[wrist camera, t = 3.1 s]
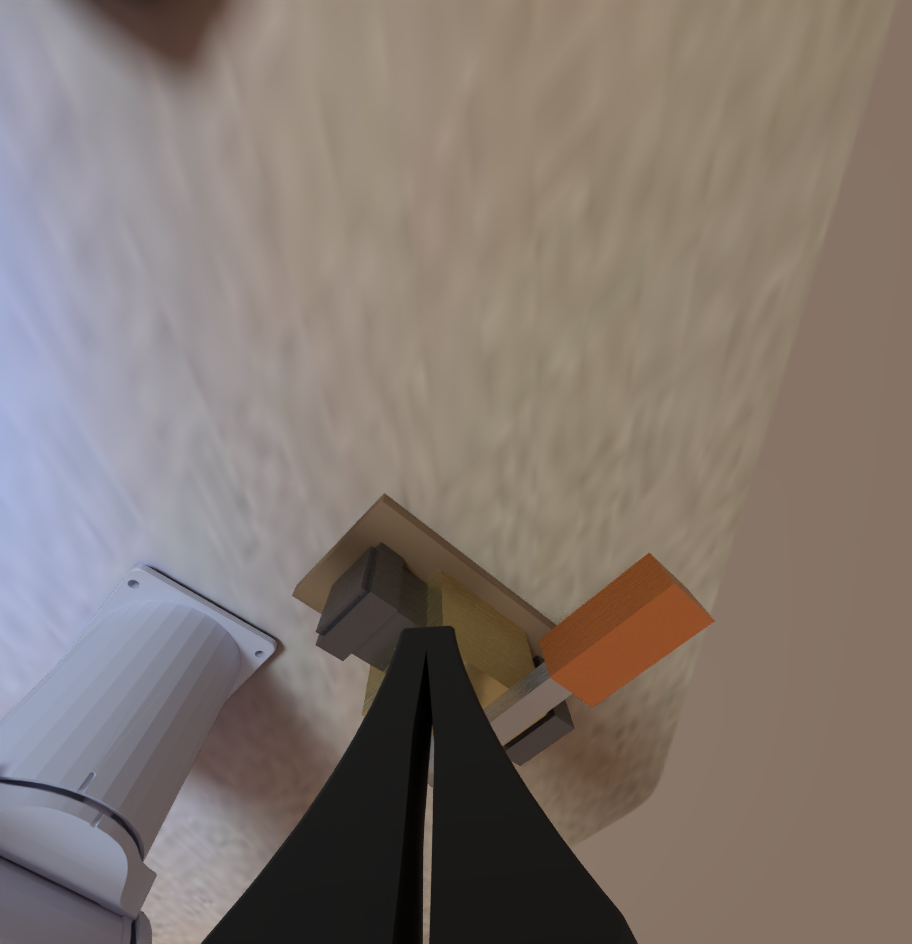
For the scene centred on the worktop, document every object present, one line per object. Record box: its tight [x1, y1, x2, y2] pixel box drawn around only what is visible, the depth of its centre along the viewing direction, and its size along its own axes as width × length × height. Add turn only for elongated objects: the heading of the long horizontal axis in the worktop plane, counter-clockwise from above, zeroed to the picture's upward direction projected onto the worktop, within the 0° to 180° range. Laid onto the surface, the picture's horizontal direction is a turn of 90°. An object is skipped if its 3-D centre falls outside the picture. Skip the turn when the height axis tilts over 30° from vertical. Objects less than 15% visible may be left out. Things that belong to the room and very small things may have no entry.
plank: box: [292, 493, 556, 659], centre depth 22 cm, size 7×15×1 cm, turn 47°
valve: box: [316, 542, 574, 766], centre depth 20 cm, size 5×13×5 cm, turn 47°
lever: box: [428, 553, 714, 787], centre depth 15 cm, size 12×3×2 cm, turn 137°
